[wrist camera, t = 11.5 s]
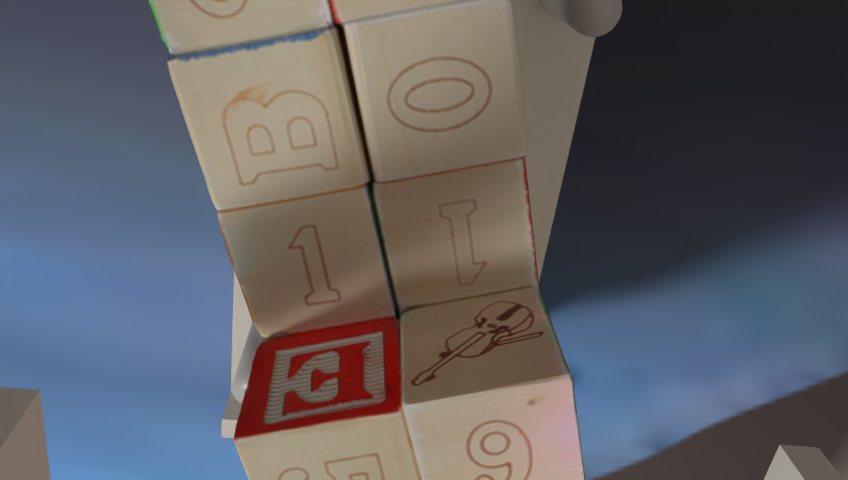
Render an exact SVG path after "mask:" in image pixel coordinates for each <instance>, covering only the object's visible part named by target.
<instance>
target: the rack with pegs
mask: <svg viewBox="0 0 848 480" xmlns="http://www.w3.org/2000/svg"><path fill="white" fill-rule="evenodd" d="M513 8H514V16H515V24H516V32H517V41H518V49H519V57H520V65H521V74H522V82H523V92H524V102H525V113H526V123H527V134H528V144H529V149H528V152H527V154H526V156H525V163H526V172H527V180H528V189H529V199H530V208H531V217H532V226H533V235H534V243H535V252H536V262H537V270H538V278H539V280H540V276H541V271H542V267H543V263H544V258H545V254H546V250H547V245H548V241H549V237H550V232H551V228H552V224H553V219H554V215H555V211H556V206H557V202H558V197H559V193H560V189H561V184H562V180H563V176H564V171H565V167H566V163H567V158H568V154H569V150H570V145H571V141H572V137H573V132H574V128H575V124H576V119H577V115H578V111H579V106H580V102H581V98H582V93H583V89H584V85H585V80H586V76H587V72H588V67H589V63H590V59H591V54H592V50H593V46H594V41H595V37H599V36H602V35H605V34H607V33H608V32H610V31H611V30H612V29H613V28H614V27H615V26H616V24H617V23H618V21H619V19H620V17H621V13H622V0H513ZM262 338H263V337H262V336H261V334H260V333H259V332H258V330H257V328H256V326H255V325H254V323H253V321H252V319H251V316H250V313H249V310H248V307H247V304H246V301H245V298H244V296H243V293H242V290H241V287H240V284H239V282H238V279H237V276H236V273H235V271H234V297H233V333H232V369H231V392H230V395H229V398H228V401H227V405H226V408H225V411H224V414H223V417H222V437H226V438H234V434H235V428H236V424H237V420H238V417H239V414H240V410H241V405H242V401H243V398H244V394H245V389H246V387H247V384H248V381H249V377H250V373H251V369H252V362H253V359H254V356H255V353H256V350H257V348H258V346H259V344H260V343H261V341H262Z"/></svg>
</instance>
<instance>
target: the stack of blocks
mask: <svg viewBox="0 0 848 480" xmlns="http://www.w3.org/2000/svg"><path fill="white" fill-rule="evenodd" d="M148 2H149V5H150V8H151V11H152V14H153V17H154V19H155V21H156V24H157V26H158V29H159V32H160V36H161V38H162V40H163V42H164V44H165V46H166V47H167V49H168V51H169V57H168V62H167V64H168V68H169V72H170V76H171V79H172V82H173V85H174V88H175V91H176V94H177V97H178V100H179V103H180V106H181V109H182V112H183V115H184V118H185V121H186V124H187V127H188V130H189V133H190V136H191V139H192V142H193V145H194V148H195V151H196V153H197V156H198V159H199V162H200V165H201V168H202V171H203V174H204V176H205V180H206V183H207V187H208V190H209V193H210V196H211V199H212V202H213V204H214V206H215V207H216V209H217V213H218V221H219V225H220V230H221V233H222V235H223V238H224V241H225V244H226V247H227V250H228V253H229V256H230V259H231V262H232V265H233V268H234V271H235V273H236V276H237V279H238V282H239V284H240V287H241V290H242V293H243V296H244V298H245V301H246V304H247V307H248V310H249V313H250V316H251V319H252V321H253V323H254V325H255V326H256V328H257V330H258V332H259V333H260V334H261V336H262V337H263V338H262V341H261V343H260V344H259V346H258V348H257V350H256V353H255V356H254V359H253V362H252V369H251V373H250V377H249V381H248V384H247V387H246V389H245V394H244V398H243V401H242V405H241V410H240V414H239V417H238V420H237V424H236V428H235V434H234V442H235V445H236V448H237V451H238V453H239V456H240V459H241V461H242V464H243V466H244V469H245V471H246V474H247V476H248V479H249V480H585V473H584V465H583V458H582V450H581V442H580V433H579V425H578V417H577V410H576V403H575V395H574V385H573V379H572V376H571V374H570V371H569V368H568V366H567V363H566V361H565V358H564V355H563V353H562V350H561V347H560V344H559V341H558V339H557V336H556V333H555V331H554V328H553V325H552V322H551V320H550V317H549V314H548V311H547V308H546V305H545V303H544V300H543V298H542V296H541V293H540V291H539V288H538V286H539V278H538V270H537V262H536V252H535V243H534V235H533V226H532V217H531V208H530V199H529V189H528V180H527V172H526V163H525V156H526V154H527V152H528V149H529V144H528V134H527V123H526V113H525V102H524V92H523V82H522V74H521V65H520V57H519V49H518V41H517V32H516V24H515V16H514V8H513V0H148Z"/></svg>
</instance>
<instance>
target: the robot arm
mask: <svg viewBox="0 0 848 480" xmlns="http://www.w3.org/2000/svg"><path fill="white" fill-rule="evenodd" d="M0 480H51V479H50V471H49V463H48V454H47V446H46V438H45V430H44V421H43V413H42V405H41V396H40V390H32V389H19V388H5V387H0ZM764 480H843V479H842V478H841V477H840V475H839V474H838V473H837V472H836V470H835V469H834V467H833V466H832V465H831V464H830V462H829V461H828V460H827V458H826V457H825V456H824V454H823V453H822V452H821V450H820V449H819V448H817V447H803V446H790V445H779V448H778V450H777V452H776V454H775V456H774V459H773V461H772V463H771V465H770V468H769V470H768V472H767V474H766V476H765V478H764Z"/></svg>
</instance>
